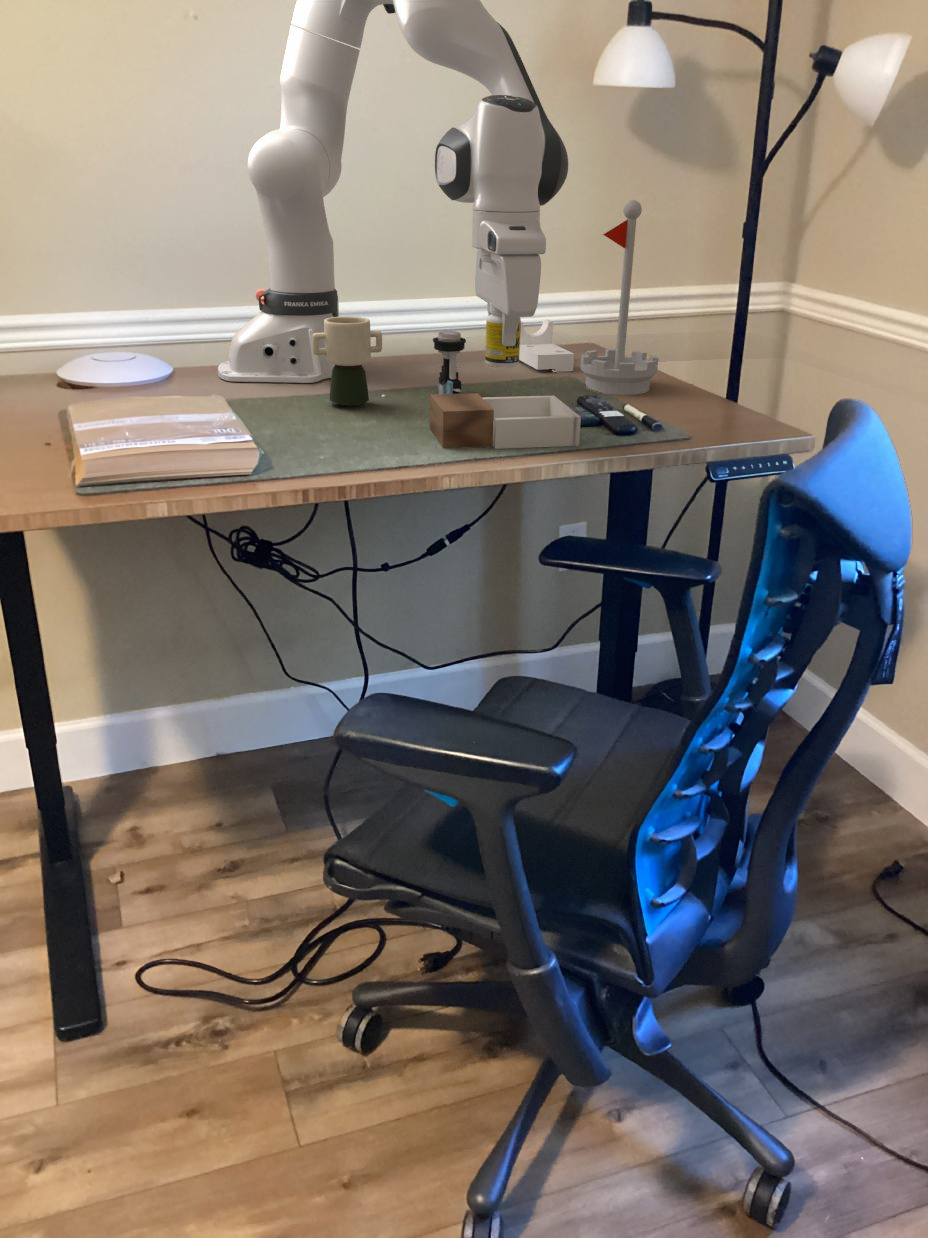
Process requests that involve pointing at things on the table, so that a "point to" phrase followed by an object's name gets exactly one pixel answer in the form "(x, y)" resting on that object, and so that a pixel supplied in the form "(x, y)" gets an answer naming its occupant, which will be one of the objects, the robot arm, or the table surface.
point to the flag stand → (621, 329)
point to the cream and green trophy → (347, 356)
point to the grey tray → (533, 422)
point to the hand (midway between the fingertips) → (502, 341)
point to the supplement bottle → (499, 342)
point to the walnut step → (461, 420)
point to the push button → (449, 360)
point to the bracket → (544, 350)
